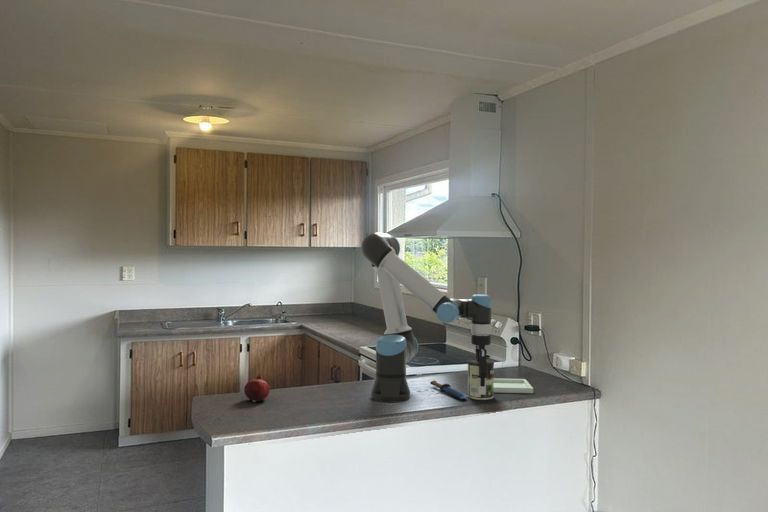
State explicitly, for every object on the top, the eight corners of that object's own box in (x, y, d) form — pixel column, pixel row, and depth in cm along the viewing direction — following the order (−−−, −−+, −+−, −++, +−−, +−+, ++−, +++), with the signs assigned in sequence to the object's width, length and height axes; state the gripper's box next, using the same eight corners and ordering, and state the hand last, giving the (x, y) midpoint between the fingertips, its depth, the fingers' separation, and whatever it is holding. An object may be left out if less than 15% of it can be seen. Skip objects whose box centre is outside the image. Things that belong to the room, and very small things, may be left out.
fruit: (249, 405, 210) (249, 378, 210) (240, 399, 218) (241, 373, 218) (273, 402, 215) (273, 375, 215) (264, 396, 223) (264, 370, 223)
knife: (470, 392, 220) (459, 395, 218) (471, 399, 221) (460, 403, 219) (438, 377, 242) (427, 379, 240) (438, 384, 243) (428, 386, 241)
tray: (493, 392, 233) (493, 387, 232) (487, 382, 248) (487, 378, 248) (533, 393, 232) (533, 388, 232) (525, 383, 248) (525, 379, 248)
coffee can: (493, 394, 230) (494, 358, 230) (493, 400, 220) (493, 364, 219) (467, 392, 232) (468, 357, 232) (466, 399, 222) (466, 362, 222)
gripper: (494, 339, 214) (494, 398, 214) (486, 330, 236) (486, 384, 237) (474, 338, 214) (473, 398, 215) (468, 329, 237) (467, 383, 237)
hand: (480, 390), depth 226 cm, fingers closed on coffee can, 10 cm apart
